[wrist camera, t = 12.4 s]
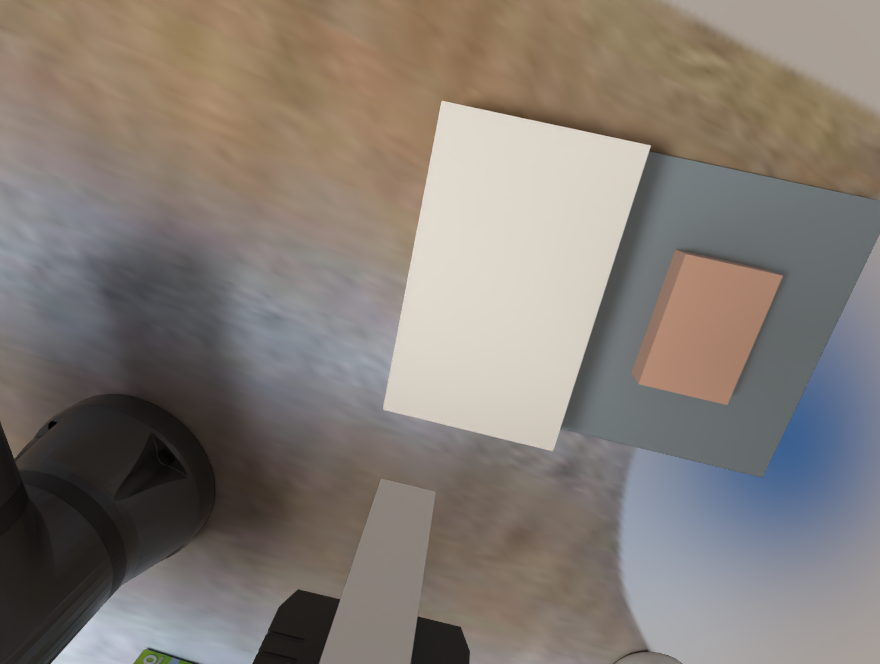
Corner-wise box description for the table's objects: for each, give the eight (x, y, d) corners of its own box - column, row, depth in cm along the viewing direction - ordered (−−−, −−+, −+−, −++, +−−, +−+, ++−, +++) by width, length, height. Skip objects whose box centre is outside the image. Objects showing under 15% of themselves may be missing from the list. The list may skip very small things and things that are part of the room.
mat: (760, 475, 38) (762, 477, 38) (548, 423, 39) (548, 425, 38) (890, 203, 32) (894, 203, 31) (633, 148, 32) (634, 148, 32)
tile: (638, 384, 35) (631, 373, 36) (727, 405, 34) (715, 392, 36) (685, 253, 32) (675, 249, 34) (783, 275, 31) (767, 269, 33)
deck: (548, 423, 39) (553, 451, 35) (394, 386, 39) (382, 409, 35) (633, 148, 32) (651, 145, 29) (448, 108, 33) (441, 100, 29)
